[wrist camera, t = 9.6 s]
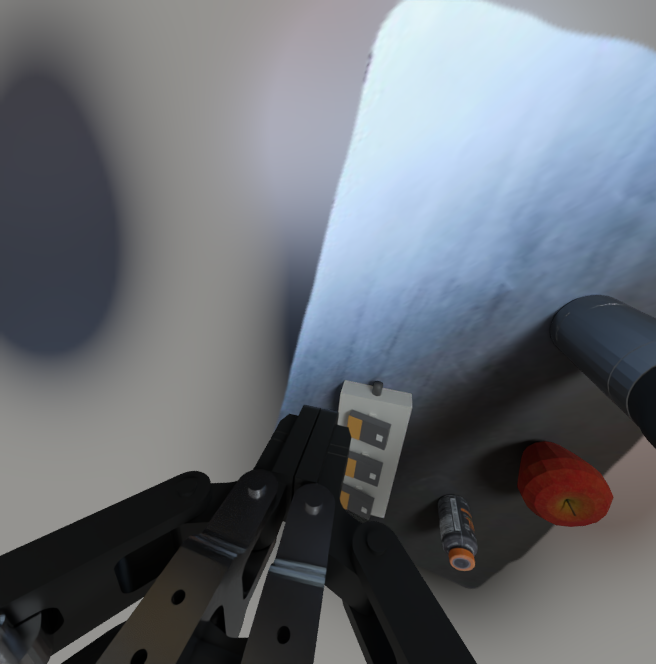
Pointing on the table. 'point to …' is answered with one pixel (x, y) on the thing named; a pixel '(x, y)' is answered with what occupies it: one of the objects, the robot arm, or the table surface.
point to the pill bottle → (457, 532)
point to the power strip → (397, 413)
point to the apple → (562, 486)
